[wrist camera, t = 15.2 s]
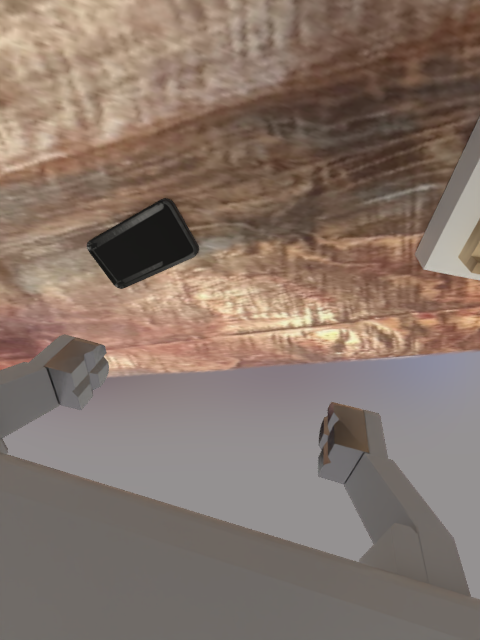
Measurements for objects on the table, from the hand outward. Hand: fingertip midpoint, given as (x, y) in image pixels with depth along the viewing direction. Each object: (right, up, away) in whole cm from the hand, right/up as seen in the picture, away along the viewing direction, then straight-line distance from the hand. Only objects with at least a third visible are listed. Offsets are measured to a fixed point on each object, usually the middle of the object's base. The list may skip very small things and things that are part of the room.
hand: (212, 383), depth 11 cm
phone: (-12, +12, +32) cm, 36 cm away
